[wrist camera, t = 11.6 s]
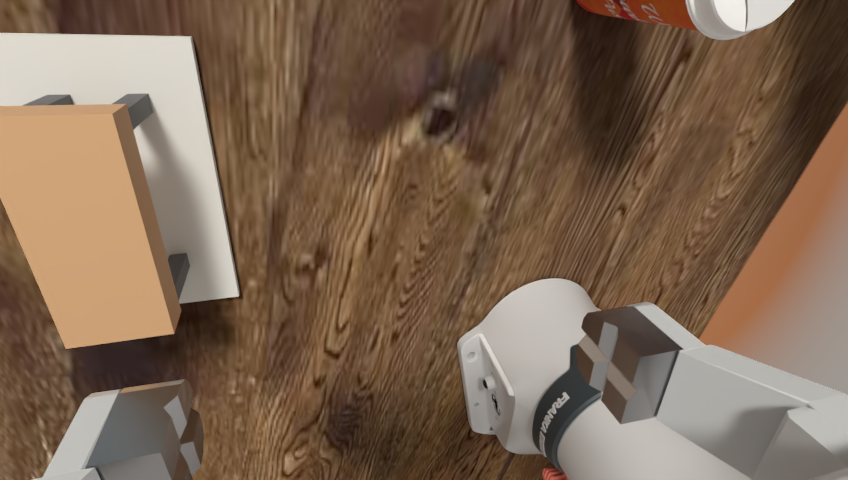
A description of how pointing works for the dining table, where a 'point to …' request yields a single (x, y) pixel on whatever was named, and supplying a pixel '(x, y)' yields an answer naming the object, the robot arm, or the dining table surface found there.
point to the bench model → (89, 218)
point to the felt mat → (142, 132)
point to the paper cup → (695, 14)
